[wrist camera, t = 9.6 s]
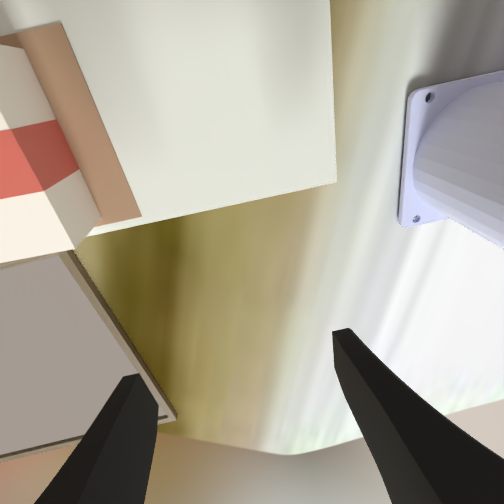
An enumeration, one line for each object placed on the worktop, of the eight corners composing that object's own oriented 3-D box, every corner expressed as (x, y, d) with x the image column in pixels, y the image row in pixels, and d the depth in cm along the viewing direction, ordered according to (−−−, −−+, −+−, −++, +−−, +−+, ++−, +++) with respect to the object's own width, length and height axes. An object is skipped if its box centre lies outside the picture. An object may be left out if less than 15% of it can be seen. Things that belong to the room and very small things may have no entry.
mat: (307, -433, 8) (312, -461, 8) (334, 180, 17) (337, 182, 17) (-439, -262, 8) (-475, -280, 8) (-24, 258, 18) (-30, 262, 17)
